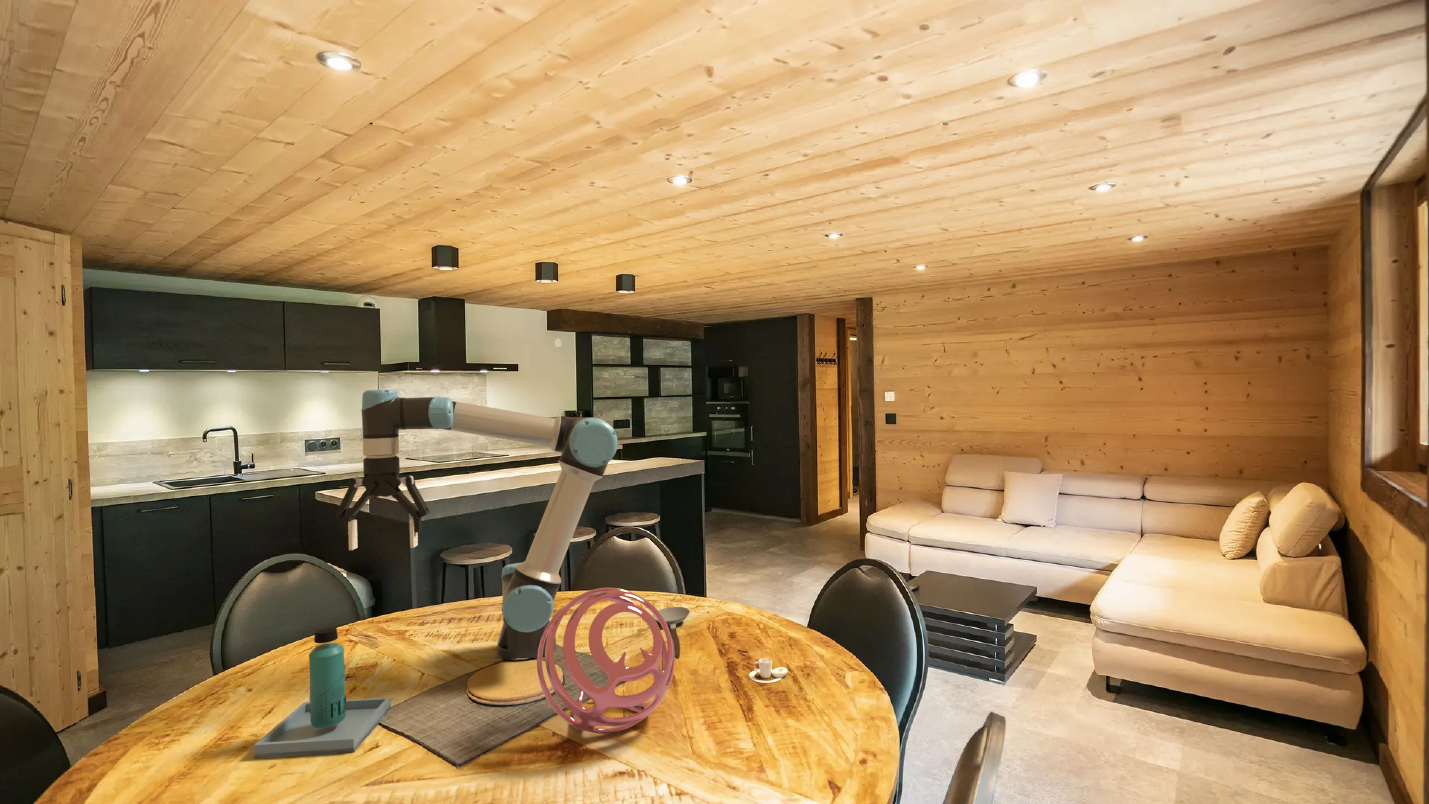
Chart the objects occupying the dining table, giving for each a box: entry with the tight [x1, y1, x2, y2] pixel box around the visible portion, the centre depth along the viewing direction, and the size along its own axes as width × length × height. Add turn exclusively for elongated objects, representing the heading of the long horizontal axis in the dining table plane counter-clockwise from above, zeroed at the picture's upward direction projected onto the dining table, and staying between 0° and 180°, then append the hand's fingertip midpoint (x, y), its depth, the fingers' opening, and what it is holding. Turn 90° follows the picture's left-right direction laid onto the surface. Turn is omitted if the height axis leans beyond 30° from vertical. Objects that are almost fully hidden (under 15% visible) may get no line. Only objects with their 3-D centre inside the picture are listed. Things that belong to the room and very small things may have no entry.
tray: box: [253, 696, 392, 759], centre depth 137 cm, size 18×18×2 cm
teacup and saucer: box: [748, 657, 789, 684], centre depth 160 cm, size 9×8×4 cm
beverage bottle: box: [308, 626, 347, 728], centre depth 137 cm, size 6×7×20 cm
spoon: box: [652, 606, 691, 659], centre depth 188 cm, size 11×33×3 cm, turn 7°
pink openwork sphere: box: [536, 587, 676, 735], centre depth 140 cm, size 28×28×27 cm
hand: (383, 547), depth 157 cm, fingers open, 13 cm apart
